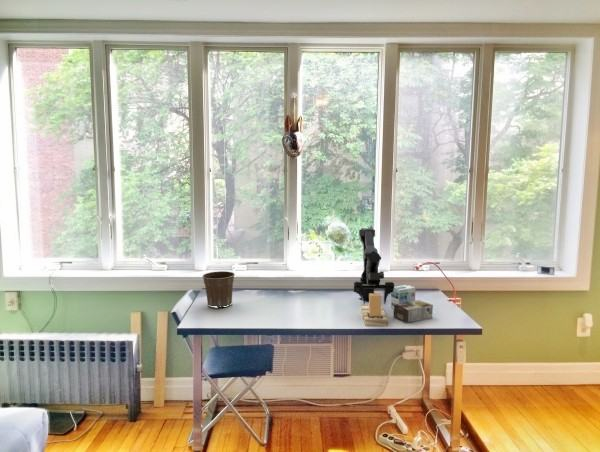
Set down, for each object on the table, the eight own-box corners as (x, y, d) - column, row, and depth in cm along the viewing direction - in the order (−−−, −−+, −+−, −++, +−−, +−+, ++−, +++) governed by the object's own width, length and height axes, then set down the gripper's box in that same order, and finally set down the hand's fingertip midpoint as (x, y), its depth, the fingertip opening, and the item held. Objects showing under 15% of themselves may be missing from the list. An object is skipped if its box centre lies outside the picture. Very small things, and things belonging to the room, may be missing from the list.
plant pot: (196, 307, 215) (195, 276, 214) (214, 299, 230) (213, 270, 228) (224, 311, 209) (223, 279, 207) (241, 302, 224) (240, 272, 222)
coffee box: (418, 312, 207) (392, 317, 199) (419, 299, 206) (393, 304, 199) (432, 317, 199) (406, 323, 192) (433, 304, 198) (407, 309, 191)
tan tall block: (368, 319, 197) (369, 293, 196) (379, 319, 197) (380, 293, 195) (369, 322, 193) (370, 295, 192) (380, 322, 193) (381, 295, 191)
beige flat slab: (360, 309, 211) (360, 304, 211) (381, 310, 211) (381, 305, 210) (365, 325, 189) (365, 320, 189) (387, 325, 189) (387, 320, 188)
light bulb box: (399, 311, 209) (399, 290, 207) (390, 307, 214) (390, 286, 213) (415, 308, 213) (416, 287, 212) (406, 304, 219) (407, 284, 218)
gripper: (353, 264, 199) (355, 294, 190) (394, 265, 198) (397, 295, 189) (352, 277, 208) (353, 306, 198) (391, 277, 207) (394, 306, 197)
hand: (374, 303), depth 195 cm, fingers open, 9 cm apart
